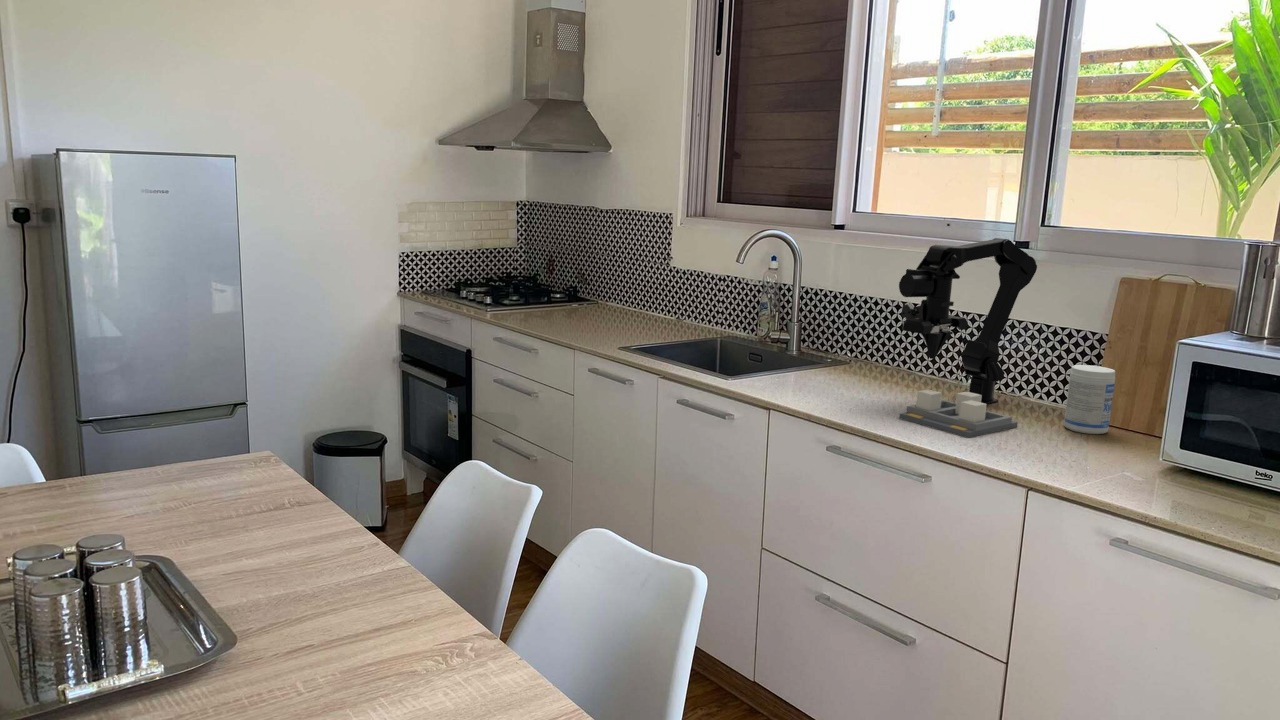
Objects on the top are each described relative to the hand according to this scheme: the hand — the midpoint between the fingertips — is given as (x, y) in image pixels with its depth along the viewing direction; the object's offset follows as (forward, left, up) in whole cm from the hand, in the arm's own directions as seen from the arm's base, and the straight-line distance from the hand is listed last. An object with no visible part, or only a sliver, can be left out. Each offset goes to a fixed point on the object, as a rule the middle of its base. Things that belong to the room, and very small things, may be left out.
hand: (932, 358), depth 238 cm
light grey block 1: (+5, +15, -10) cm, 19 cm away
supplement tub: (-14, +34, -12) cm, 39 cm away
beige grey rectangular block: (+12, +9, -10) cm, 18 cm away
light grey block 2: (+12, +21, -11) cm, 26 cm away
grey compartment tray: (+9, +15, -12) cm, 21 cm away
